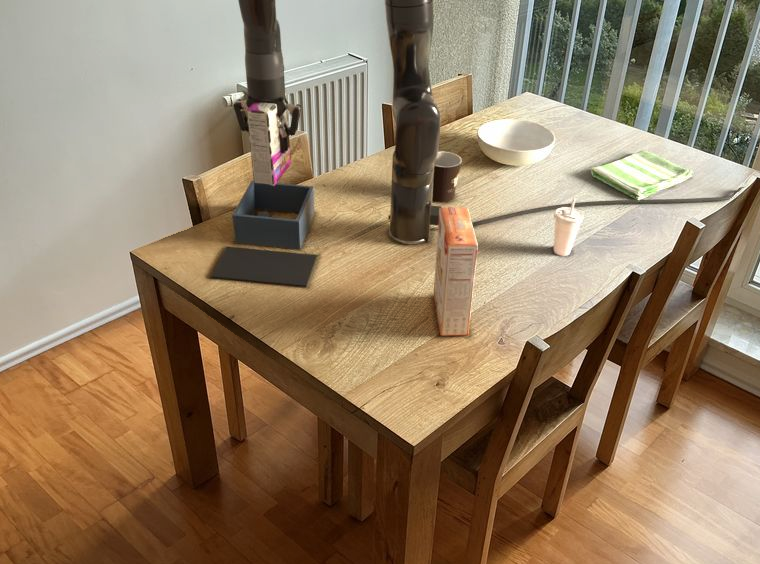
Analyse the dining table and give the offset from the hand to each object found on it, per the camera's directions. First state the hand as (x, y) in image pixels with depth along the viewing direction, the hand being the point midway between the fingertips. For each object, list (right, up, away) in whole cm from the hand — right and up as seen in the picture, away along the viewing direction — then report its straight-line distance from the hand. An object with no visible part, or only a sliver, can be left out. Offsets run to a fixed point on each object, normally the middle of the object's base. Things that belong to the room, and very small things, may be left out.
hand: (270, 150), depth 171 cm
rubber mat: (-1, -25, 0) cm, 25 cm away
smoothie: (+64, -20, +12) cm, 68 cm away
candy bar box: (0, -4, +4) cm, 6 cm away
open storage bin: (-1, -14, +13) cm, 20 cm away
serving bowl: (+57, +10, +49) cm, 76 cm away
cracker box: (+38, -36, -10) cm, 53 cm away
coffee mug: (+38, -4, +30) cm, 49 cm away
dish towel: (+91, +4, +44) cm, 101 cm away
